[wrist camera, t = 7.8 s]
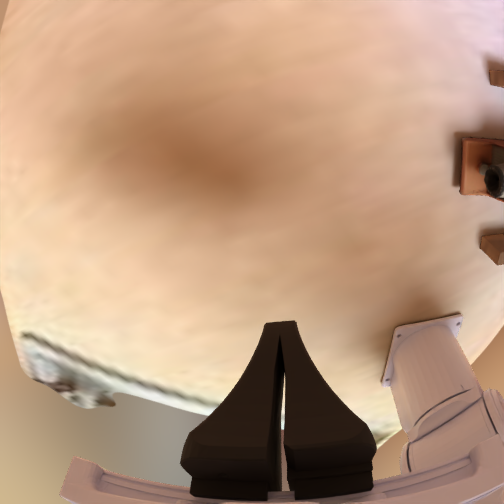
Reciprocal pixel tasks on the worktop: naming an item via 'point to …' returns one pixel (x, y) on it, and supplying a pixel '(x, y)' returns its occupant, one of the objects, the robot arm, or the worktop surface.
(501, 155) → the electronic device
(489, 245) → the cradle
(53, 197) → the worktop surface
